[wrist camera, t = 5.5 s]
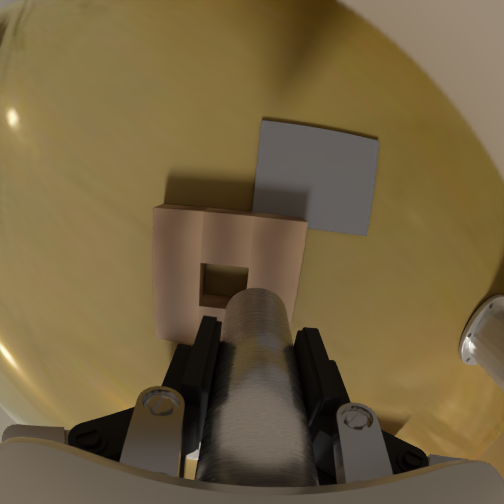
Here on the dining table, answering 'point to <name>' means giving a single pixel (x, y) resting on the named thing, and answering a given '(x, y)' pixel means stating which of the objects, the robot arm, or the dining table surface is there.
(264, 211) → the mat
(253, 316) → the peg
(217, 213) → the hole block
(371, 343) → the dining table surface
